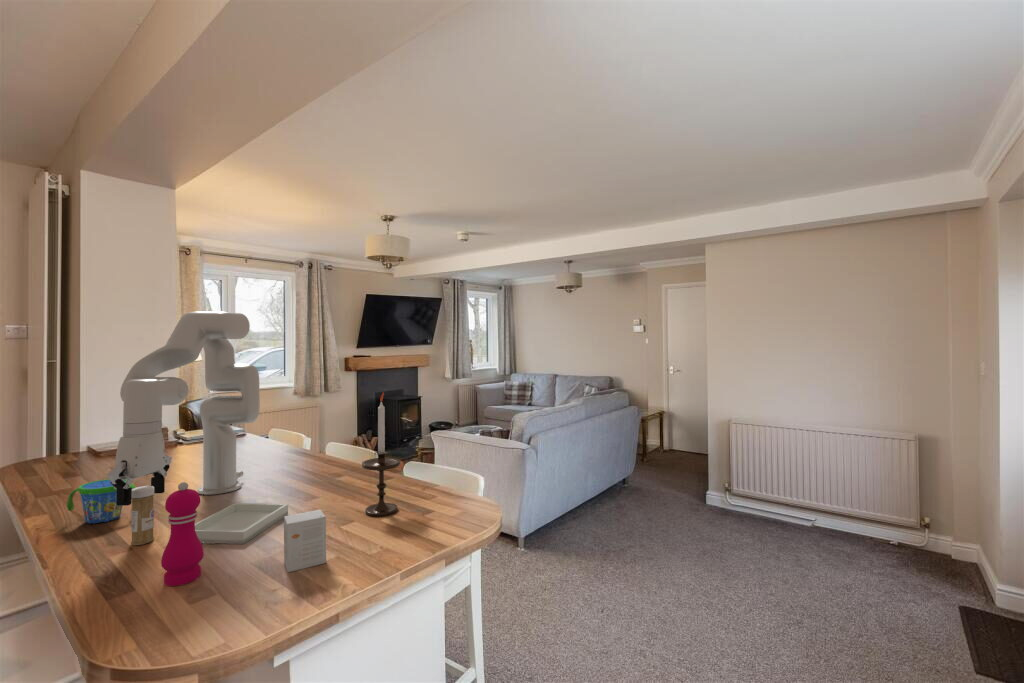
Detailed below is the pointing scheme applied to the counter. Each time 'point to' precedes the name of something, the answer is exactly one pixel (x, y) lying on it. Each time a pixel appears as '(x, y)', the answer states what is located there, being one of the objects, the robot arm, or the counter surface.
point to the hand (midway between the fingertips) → (141, 498)
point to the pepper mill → (182, 538)
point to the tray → (239, 522)
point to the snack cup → (98, 501)
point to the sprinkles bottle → (142, 515)
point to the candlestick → (381, 469)
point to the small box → (304, 540)
